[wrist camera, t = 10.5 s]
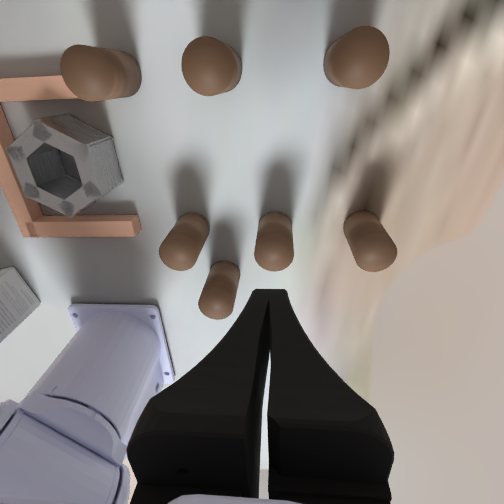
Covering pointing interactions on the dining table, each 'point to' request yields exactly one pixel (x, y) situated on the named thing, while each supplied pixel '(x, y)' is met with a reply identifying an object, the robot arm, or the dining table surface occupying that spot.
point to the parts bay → (29, 209)
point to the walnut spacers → (220, 81)
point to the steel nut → (51, 168)
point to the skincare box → (14, 301)
